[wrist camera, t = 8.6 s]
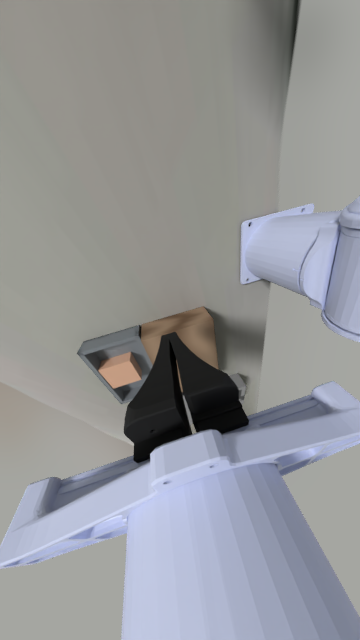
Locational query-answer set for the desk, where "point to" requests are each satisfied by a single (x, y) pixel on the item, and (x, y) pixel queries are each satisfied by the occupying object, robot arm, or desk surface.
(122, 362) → the tile
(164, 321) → the tan slab
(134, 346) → the bin
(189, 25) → the desk surface
